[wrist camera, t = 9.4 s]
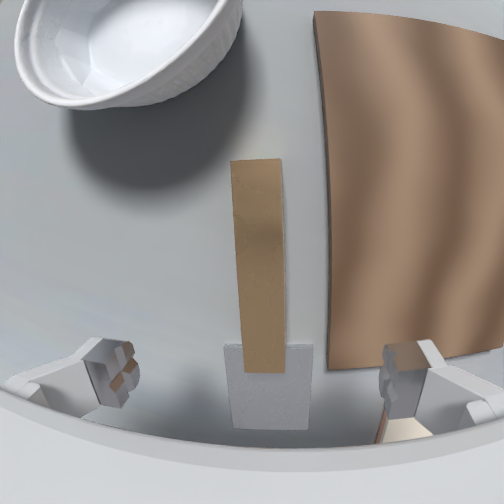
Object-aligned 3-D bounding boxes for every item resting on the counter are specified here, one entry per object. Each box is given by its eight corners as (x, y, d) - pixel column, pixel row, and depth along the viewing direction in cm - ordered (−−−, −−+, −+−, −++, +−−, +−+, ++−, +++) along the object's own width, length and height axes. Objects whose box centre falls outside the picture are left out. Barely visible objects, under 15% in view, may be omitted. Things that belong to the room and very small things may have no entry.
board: (326, 357, 21) (328, 369, 20) (312, 21, 16) (314, 10, 14) (493, 338, 20) (502, 347, 18) (500, 47, 14) (510, 42, 13)
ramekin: (122, 161, 19) (54, 165, 13) (55, 34, 17) (-5, 12, 11) (298, 45, 16) (301, -9, 10) (195, -68, 14) (166, -122, 8)
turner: (210, 163, 19) (194, 163, 16) (312, 158, 18) (317, 157, 15) (234, 423, 24) (227, 452, 21) (308, 424, 23) (308, 455, 20)
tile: (374, 467, 22) (452, 453, 21) (392, 406, 20) (479, 390, 19) (370, 452, 24) (446, 439, 23) (386, 389, 22) (470, 376, 21)
